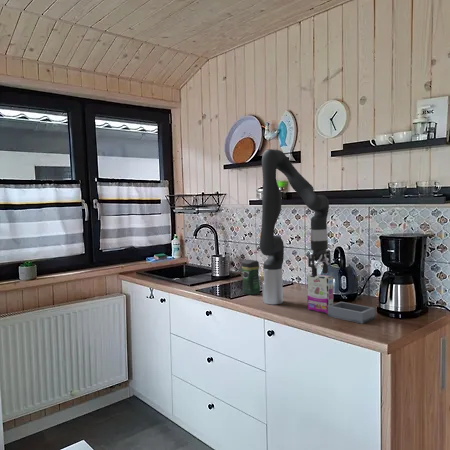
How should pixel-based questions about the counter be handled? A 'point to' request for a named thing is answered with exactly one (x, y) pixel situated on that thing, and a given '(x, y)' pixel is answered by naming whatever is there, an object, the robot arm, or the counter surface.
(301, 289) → the counter surface
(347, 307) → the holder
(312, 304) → the candy bar box
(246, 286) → the coffee jar
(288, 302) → the counter surface
